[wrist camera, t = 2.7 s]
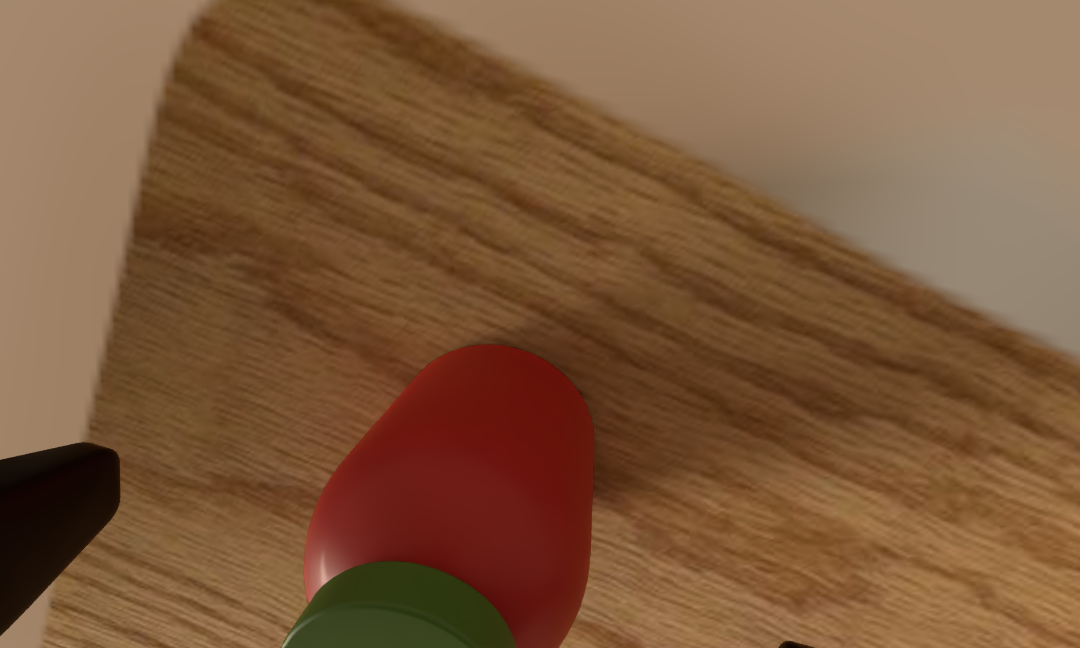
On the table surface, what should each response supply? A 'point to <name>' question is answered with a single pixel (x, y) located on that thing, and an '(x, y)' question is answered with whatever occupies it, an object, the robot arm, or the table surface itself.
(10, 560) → the robot arm
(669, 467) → the table surface
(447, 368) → the sriracha sauce bottle
